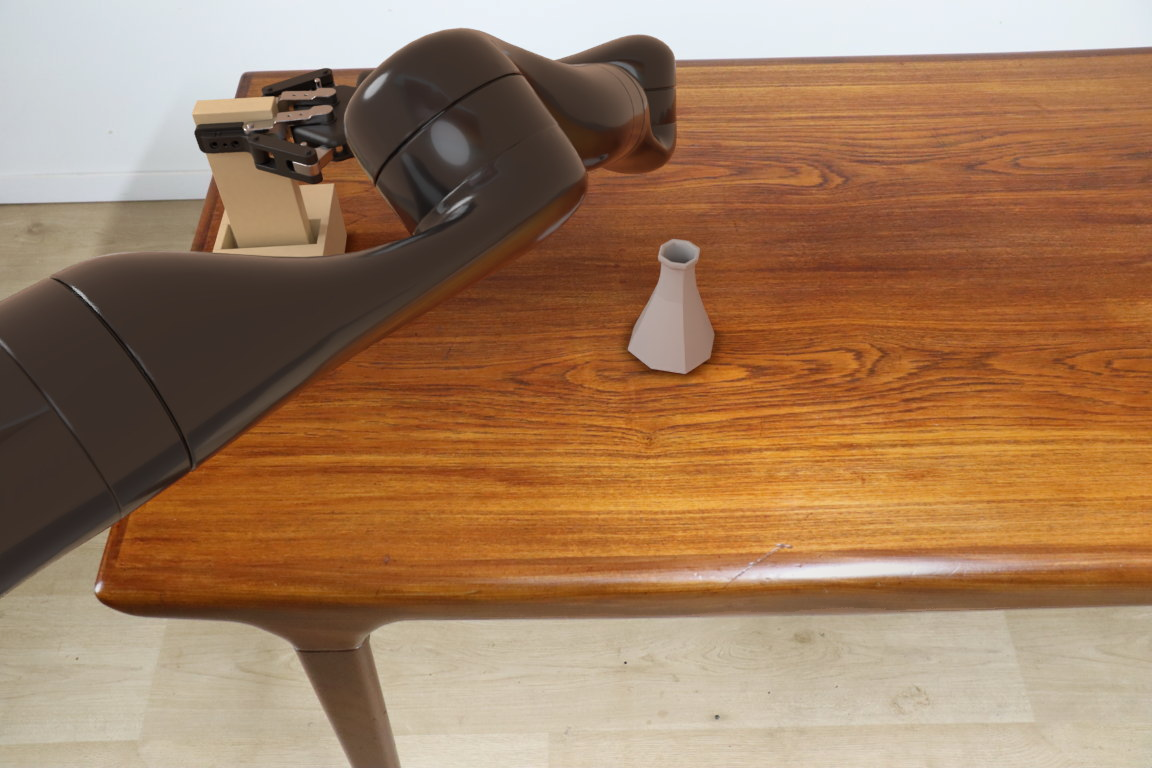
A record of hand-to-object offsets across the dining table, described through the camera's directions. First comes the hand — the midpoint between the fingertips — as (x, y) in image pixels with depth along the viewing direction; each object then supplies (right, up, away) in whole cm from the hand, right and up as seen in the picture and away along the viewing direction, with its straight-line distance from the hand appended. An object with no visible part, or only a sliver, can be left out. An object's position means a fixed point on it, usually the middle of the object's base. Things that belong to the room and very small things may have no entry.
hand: (202, 130), depth 74 cm
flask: (+37, -17, +6) cm, 41 cm away
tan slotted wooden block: (+3, -11, +12) cm, 17 cm away
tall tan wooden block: (+3, -9, +10) cm, 13 cm away
